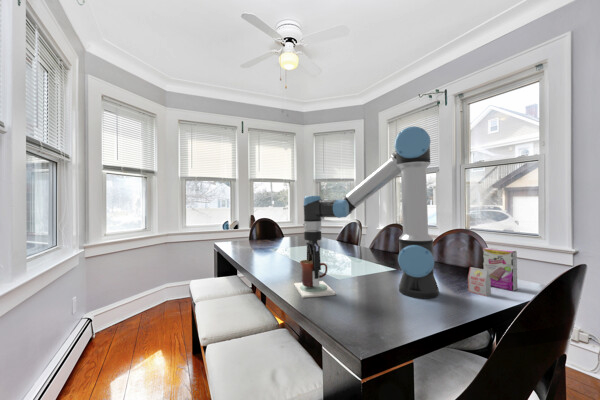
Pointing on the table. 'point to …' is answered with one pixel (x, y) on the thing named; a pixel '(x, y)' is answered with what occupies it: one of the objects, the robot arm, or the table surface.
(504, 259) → the candy bar box
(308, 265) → the mug
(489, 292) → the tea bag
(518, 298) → the table surface
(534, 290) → the table surface
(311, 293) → the card
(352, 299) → the table surface
